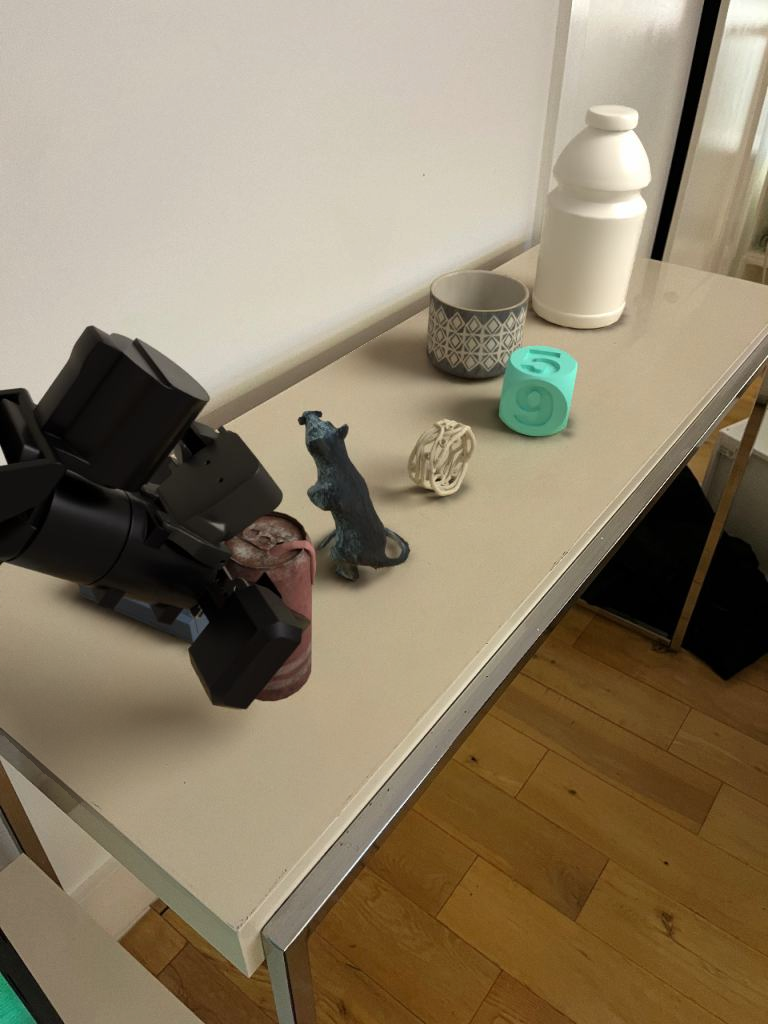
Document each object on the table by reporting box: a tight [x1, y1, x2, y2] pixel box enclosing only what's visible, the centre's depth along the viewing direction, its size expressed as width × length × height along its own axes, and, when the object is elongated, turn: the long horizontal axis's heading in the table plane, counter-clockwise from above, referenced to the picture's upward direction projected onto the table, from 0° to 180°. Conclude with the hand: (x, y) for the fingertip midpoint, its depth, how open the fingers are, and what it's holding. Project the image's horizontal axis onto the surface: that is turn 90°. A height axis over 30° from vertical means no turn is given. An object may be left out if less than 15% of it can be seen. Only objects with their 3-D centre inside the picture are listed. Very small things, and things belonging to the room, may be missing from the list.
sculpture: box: [297, 410, 411, 582], centre depth 72 cm, size 8×11×15 cm
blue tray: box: [77, 584, 209, 644], centre depth 73 cm, size 13×13×2 cm
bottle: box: [531, 104, 652, 329], centre depth 110 cm, size 14×14×28 cm
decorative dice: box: [498, 345, 579, 437], centre depth 93 cm, size 8×8×8 cm
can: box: [220, 510, 317, 702], centre depth 54 cm, size 6×6×14 cm
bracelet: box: [407, 418, 477, 497], centre depth 83 cm, size 4×8×8 cm, turn 141°
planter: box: [426, 269, 530, 379], centre depth 103 cm, size 13×13×10 cm
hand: (289, 602), depth 55 cm, fingers closed on can, 5 cm apart
